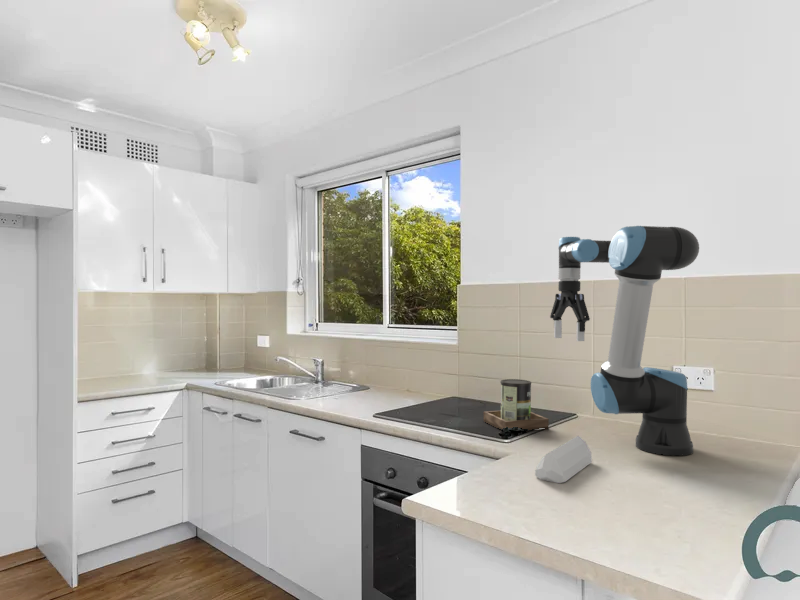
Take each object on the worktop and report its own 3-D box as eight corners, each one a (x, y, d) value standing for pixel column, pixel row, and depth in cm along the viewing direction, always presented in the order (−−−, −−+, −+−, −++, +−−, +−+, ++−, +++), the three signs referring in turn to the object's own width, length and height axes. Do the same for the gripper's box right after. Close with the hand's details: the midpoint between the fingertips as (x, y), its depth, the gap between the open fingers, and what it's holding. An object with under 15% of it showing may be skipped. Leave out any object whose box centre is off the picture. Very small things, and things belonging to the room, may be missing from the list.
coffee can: (530, 419, 190) (530, 379, 189) (531, 426, 180) (531, 384, 179) (500, 418, 192) (500, 378, 192) (499, 425, 182) (500, 383, 181)
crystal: (569, 472, 125) (601, 449, 145) (543, 452, 129) (578, 432, 148) (553, 496, 128) (587, 470, 147) (528, 475, 132) (565, 452, 151)
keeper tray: (548, 429, 180) (548, 418, 180) (505, 432, 176) (505, 421, 176) (523, 418, 196) (523, 409, 196) (483, 421, 191) (483, 411, 191)
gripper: (600, 279, 184) (600, 342, 184) (558, 281, 208) (557, 336, 208) (582, 279, 182) (581, 342, 182) (541, 280, 206) (540, 336, 206)
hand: (568, 339), depth 195 cm, fingers open, 13 cm apart
